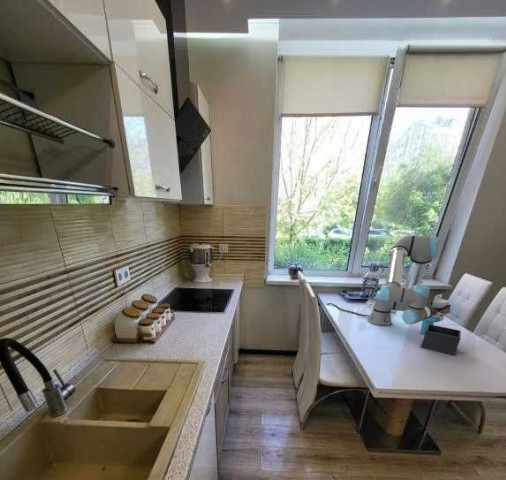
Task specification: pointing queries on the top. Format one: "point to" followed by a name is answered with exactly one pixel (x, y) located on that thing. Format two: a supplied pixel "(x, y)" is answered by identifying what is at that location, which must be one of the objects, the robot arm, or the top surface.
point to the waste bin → (441, 339)
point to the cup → (425, 325)
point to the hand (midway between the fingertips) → (443, 305)
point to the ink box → (439, 304)
